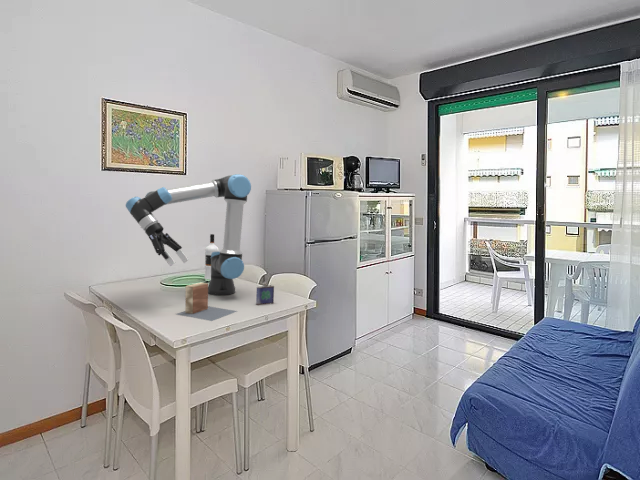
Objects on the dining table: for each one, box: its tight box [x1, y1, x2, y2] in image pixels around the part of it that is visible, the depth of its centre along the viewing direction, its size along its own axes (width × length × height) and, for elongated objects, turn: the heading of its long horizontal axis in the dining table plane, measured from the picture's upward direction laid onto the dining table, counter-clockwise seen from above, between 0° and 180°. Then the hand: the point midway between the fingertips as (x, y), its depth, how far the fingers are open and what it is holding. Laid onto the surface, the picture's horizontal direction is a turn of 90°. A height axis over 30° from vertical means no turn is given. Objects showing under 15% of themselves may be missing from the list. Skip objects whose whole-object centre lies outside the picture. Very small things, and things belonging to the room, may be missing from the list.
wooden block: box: [184, 282, 209, 314], centre depth 178 cm, size 4×10×12 cm, turn 156°
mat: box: [176, 305, 238, 322], centre depth 177 cm, size 20×18×1 cm
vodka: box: [203, 233, 220, 279], centre depth 249 cm, size 9×9×30 cm
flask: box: [255, 282, 275, 306], centre depth 198 cm, size 9×3×11 cm, turn 121°
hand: (179, 262), depth 181 cm, fingers open, 13 cm apart
